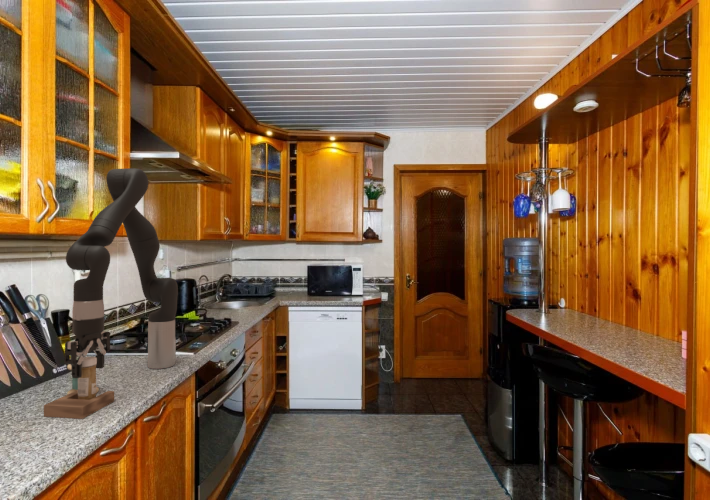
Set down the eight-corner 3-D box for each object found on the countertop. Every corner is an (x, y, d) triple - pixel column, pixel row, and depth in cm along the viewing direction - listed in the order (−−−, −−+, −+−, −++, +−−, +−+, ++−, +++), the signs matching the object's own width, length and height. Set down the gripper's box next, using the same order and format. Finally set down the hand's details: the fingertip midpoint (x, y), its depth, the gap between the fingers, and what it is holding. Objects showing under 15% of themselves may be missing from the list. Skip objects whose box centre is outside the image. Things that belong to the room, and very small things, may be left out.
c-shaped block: (79, 399, 119) (79, 389, 119) (114, 401, 118) (114, 391, 118) (43, 416, 107) (43, 405, 107) (82, 418, 106) (82, 407, 106)
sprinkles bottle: (99, 404, 116) (100, 357, 115) (82, 409, 111) (83, 361, 111) (90, 401, 118) (90, 355, 118) (73, 406, 114) (74, 358, 114)
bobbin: (81, 387, 129) (81, 359, 128) (104, 389, 128) (104, 360, 128) (60, 397, 121) (60, 366, 121) (85, 398, 120) (85, 368, 120)
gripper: (95, 311, 122) (95, 364, 122) (55, 320, 108) (55, 380, 108) (118, 312, 121) (118, 365, 122) (81, 321, 107) (81, 382, 107)
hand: (88, 372), depth 115 cm, fingers open, 8 cm apart
